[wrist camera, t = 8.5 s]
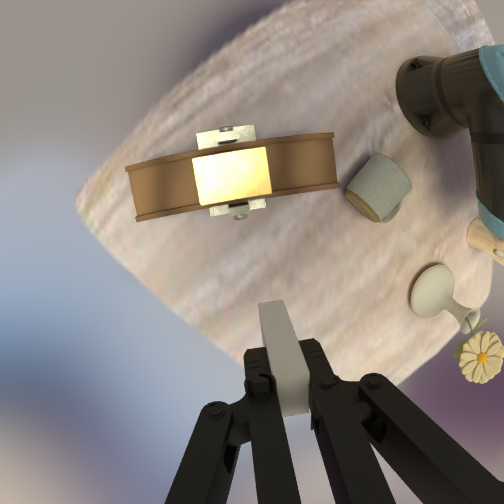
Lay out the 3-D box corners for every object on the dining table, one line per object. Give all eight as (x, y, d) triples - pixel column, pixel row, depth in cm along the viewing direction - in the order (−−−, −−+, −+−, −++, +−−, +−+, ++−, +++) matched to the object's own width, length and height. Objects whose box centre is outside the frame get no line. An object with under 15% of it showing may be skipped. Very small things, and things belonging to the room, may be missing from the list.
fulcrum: (307, 119, 39) (328, 110, 30) (317, 198, 43) (340, 209, 34) (142, 146, 38) (121, 144, 29) (158, 225, 42) (142, 243, 33)
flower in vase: (435, 249, 48) (530, 307, 24) (454, 283, 51) (534, 341, 28) (391, 299, 50) (472, 382, 27) (415, 328, 53) (484, 403, 30)
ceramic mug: (334, 189, 43) (356, 197, 36) (366, 151, 41) (392, 152, 34) (375, 231, 46) (400, 246, 39) (404, 196, 44) (431, 205, 37)
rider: (259, 148, 32) (265, 147, 27) (265, 188, 33) (271, 193, 28) (197, 158, 31) (192, 159, 27) (204, 198, 33) (200, 205, 28)
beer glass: (474, 254, 50) (521, 280, 35) (460, 238, 48) (512, 263, 34) (488, 228, 48) (536, 249, 34) (475, 210, 46) (528, 229, 32)
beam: (326, 133, 33) (333, 132, 31) (333, 185, 35) (340, 187, 33) (131, 165, 32) (124, 166, 30) (142, 217, 34) (136, 222, 32)
